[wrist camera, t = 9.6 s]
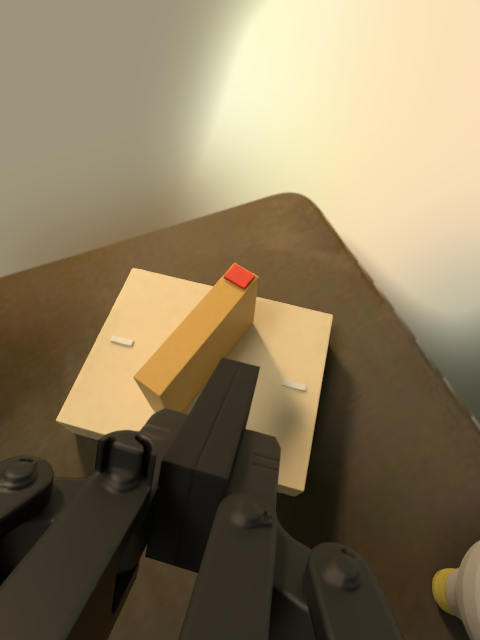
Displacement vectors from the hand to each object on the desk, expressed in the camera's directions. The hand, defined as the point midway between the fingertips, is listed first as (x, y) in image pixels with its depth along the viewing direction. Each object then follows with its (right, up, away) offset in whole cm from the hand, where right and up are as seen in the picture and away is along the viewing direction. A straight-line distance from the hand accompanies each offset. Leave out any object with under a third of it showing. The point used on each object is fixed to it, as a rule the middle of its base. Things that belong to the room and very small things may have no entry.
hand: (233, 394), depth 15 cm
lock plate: (-2, -1, +11) cm, 11 cm away
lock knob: (-2, 0, +8) cm, 9 cm away
